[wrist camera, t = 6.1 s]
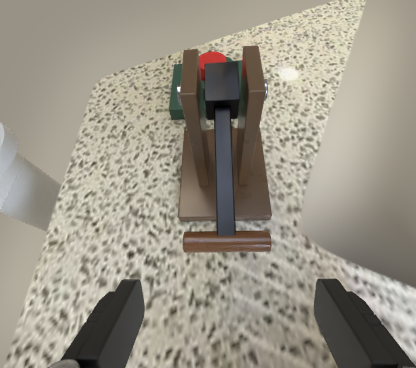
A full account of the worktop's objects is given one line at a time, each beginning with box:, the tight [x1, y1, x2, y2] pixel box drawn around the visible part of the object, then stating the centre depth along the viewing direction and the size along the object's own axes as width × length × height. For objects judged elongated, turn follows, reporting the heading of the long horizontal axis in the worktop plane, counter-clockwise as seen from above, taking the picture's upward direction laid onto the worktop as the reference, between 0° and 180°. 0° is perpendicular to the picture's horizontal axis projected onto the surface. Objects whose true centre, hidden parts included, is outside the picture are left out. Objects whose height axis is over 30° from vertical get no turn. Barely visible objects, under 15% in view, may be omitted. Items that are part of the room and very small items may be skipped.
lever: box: [183, 61, 271, 253], centre depth 15 cm, size 12×5×2 cm, turn 0°
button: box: [199, 52, 226, 81], centre depth 28 cm, size 4×4×2 cm
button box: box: [169, 57, 242, 119], centre depth 30 cm, size 11×9×4 cm
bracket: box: [177, 46, 272, 221], centre depth 20 cm, size 11×9×13 cm
